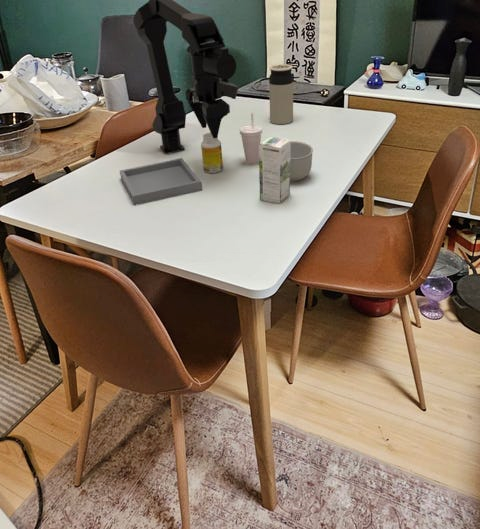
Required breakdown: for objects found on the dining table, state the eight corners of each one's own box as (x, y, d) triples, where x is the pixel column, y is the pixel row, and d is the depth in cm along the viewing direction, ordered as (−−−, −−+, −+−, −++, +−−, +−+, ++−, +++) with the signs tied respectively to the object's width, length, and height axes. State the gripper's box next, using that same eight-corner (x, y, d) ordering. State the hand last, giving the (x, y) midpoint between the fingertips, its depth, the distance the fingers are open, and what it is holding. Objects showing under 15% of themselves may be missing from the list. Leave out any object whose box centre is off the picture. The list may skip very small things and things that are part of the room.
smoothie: (261, 166, 139) (259, 117, 131) (239, 165, 140) (236, 117, 133) (265, 157, 144) (263, 109, 136) (243, 157, 146) (240, 109, 138)
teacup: (315, 170, 135) (316, 142, 130) (307, 187, 126) (307, 157, 122) (267, 166, 139) (266, 139, 134) (255, 182, 131) (254, 154, 126)
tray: (121, 178, 138) (119, 170, 136) (182, 166, 143) (181, 158, 141) (134, 205, 124) (132, 196, 122) (202, 190, 129) (201, 181, 127)
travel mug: (293, 124, 167) (294, 68, 157) (270, 125, 167) (269, 70, 157) (292, 116, 174) (292, 63, 164) (269, 118, 174) (268, 64, 164)
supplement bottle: (224, 172, 137) (222, 136, 131) (205, 175, 136) (201, 139, 131) (221, 164, 142) (218, 130, 136) (202, 167, 141) (198, 132, 135)
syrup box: (270, 190, 126) (268, 135, 118) (291, 194, 123) (291, 138, 115) (259, 200, 122) (257, 143, 114) (280, 204, 119) (280, 147, 111)
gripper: (247, 75, 119) (250, 137, 128) (221, 61, 134) (225, 118, 143) (204, 82, 116) (210, 145, 125) (182, 67, 131) (188, 124, 139)
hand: (209, 132), depth 133 cm, fingers open, 9 cm apart
